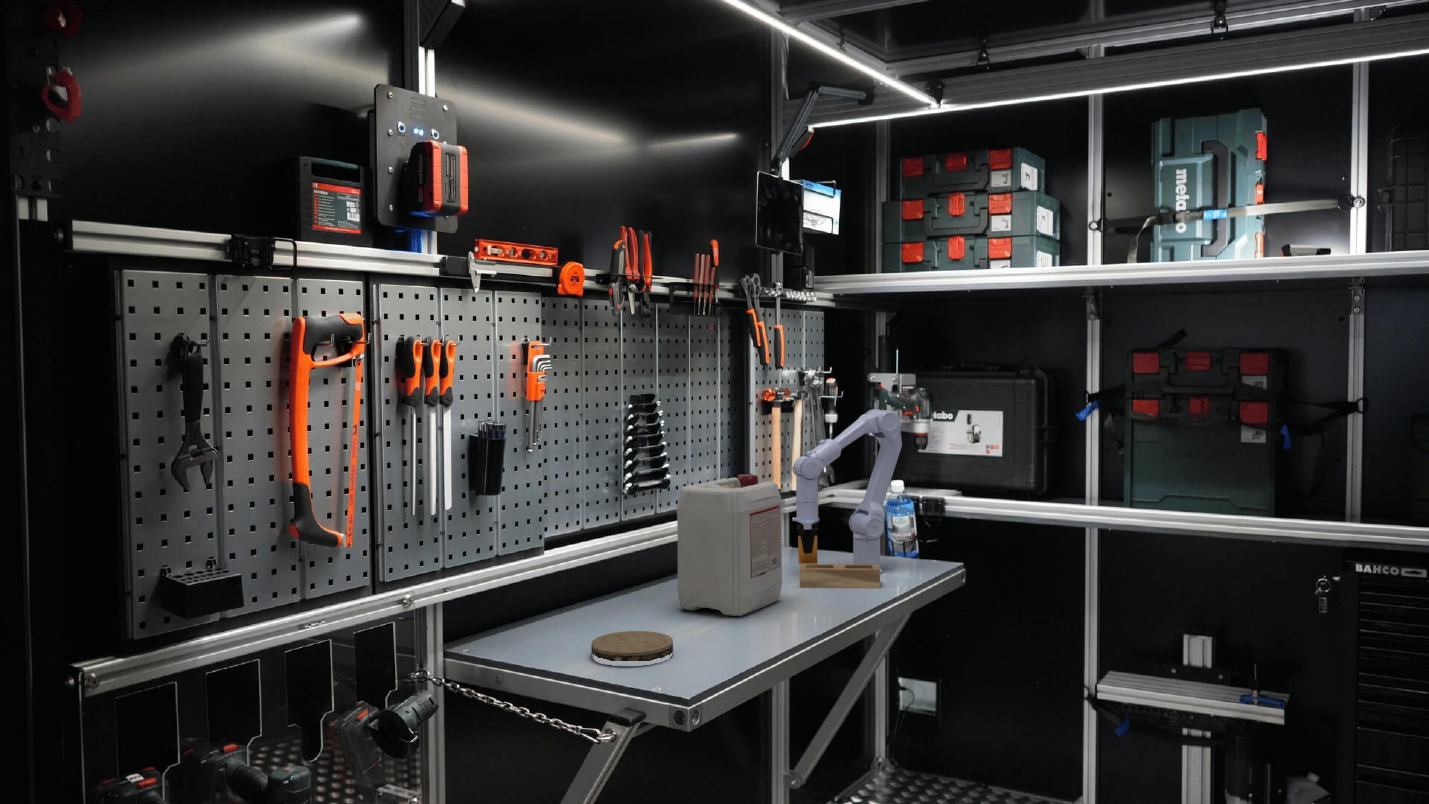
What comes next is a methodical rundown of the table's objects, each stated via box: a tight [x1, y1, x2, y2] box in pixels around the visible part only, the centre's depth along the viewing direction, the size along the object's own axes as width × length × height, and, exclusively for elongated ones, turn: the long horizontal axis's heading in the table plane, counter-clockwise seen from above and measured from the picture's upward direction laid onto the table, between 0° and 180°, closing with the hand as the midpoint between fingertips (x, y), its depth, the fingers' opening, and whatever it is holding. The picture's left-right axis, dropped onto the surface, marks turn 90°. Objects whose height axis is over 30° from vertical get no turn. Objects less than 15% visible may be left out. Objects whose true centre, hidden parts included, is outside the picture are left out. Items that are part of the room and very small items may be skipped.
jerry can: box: [676, 474, 783, 617], centre depth 237 cm, size 24×19×30 cm
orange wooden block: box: [797, 535, 818, 565], centre depth 270 cm, size 2×5×7 cm, turn 85°
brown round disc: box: [590, 630, 674, 661], centre depth 197 cm, size 16×16×3 cm
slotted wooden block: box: [799, 563, 881, 589], centre depth 258 cm, size 8×20×4 cm, turn 85°
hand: (807, 552), depth 270 cm, fingers closed on orange wooden block, 2 cm apart
